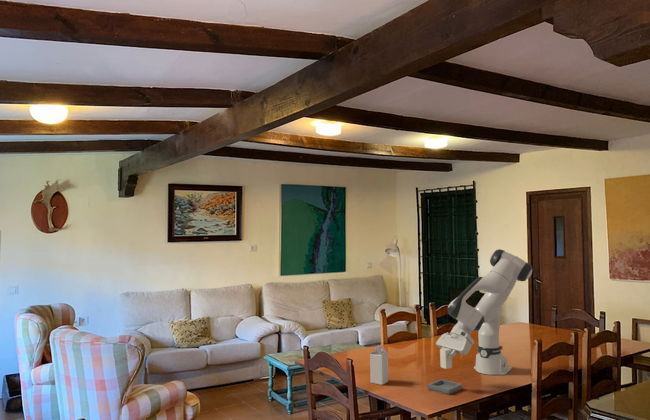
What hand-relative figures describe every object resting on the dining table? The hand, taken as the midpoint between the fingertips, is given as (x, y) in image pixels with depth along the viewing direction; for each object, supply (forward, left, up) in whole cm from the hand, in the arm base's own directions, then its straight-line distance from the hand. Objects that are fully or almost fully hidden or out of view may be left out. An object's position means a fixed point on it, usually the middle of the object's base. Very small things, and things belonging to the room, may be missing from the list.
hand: (445, 357), depth 245 cm
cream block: (-1, 0, -5) cm, 5 cm away
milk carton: (+13, -32, -16) cm, 38 cm away
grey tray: (-1, -1, -16) cm, 16 cm away
